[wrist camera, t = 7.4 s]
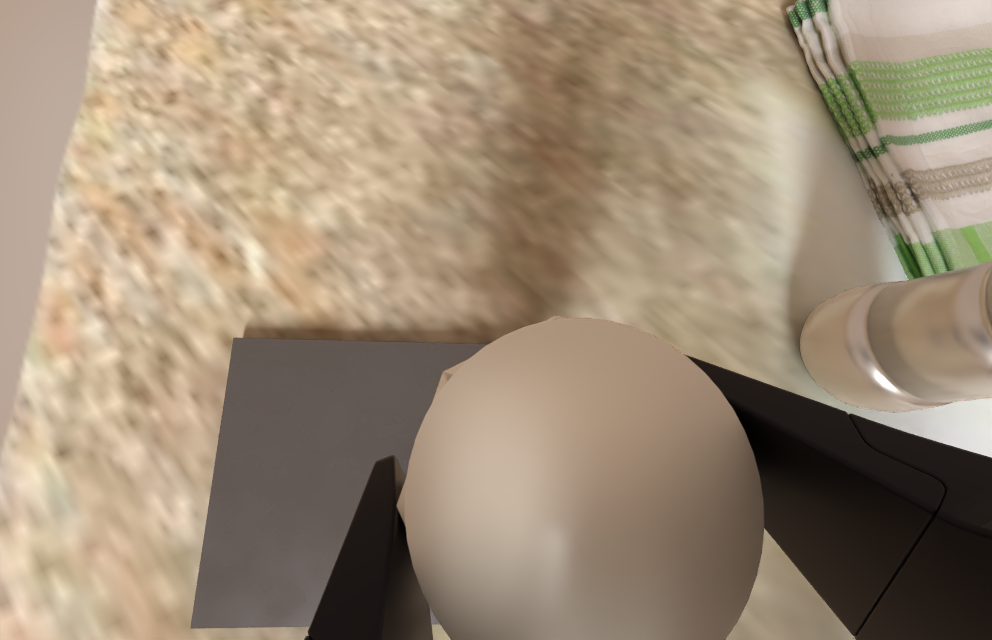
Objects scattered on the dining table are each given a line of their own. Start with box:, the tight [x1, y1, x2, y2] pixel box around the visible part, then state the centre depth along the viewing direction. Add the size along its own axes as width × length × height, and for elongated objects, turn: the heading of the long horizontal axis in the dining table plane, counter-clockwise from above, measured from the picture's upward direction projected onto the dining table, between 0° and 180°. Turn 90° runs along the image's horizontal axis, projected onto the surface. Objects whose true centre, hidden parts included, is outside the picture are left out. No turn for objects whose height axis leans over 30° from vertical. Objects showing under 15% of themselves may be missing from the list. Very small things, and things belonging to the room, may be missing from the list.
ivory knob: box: [396, 315, 764, 640], centre depth 12 cm, size 6×6×10 cm
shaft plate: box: [191, 338, 488, 628], centre depth 20 cm, size 18×13×4 cm
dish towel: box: [786, 0, 992, 280], centre depth 28 cm, size 17×23×4 cm
